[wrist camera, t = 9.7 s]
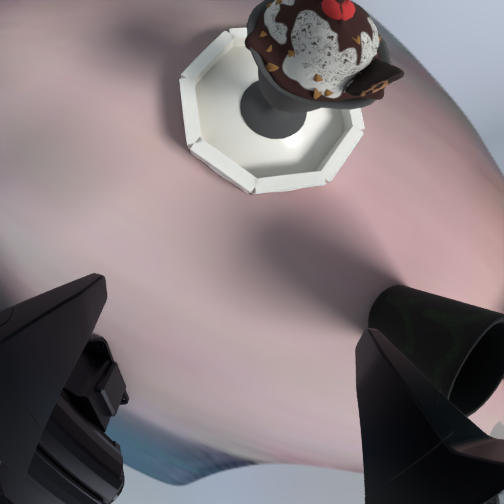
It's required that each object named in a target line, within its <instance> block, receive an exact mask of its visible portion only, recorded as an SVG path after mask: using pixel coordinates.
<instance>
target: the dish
mask: <svg viewBox="0 0 504 504" xmlns="http://www.w3.org/2000/svg"><path fill="white" fill-rule="evenodd" d="M246 37H247V28H232V29H229V32H227V31H224V32H223V33H222V34H221V35H219V36H218V37H217V38H216V39H215V40H214V41H213V42H212V43H211V44H210V45H209V46H208V47H207V48H206V49H205V50H204V51H203V52H202V53H201V54H200V55H199V56H198V57H197V58H196V59H195V60H194V61H193V62H192V63H191V64H190V65H189V66H188V67H187V68H186V69H185V70H184V71H183V73H182V74H181V79H179V82H180V91H181V100H182V110H183V120H184V125H185V133H186V140H187V146H188V149H189V150H190V151H191V154H192V155H193V156H195V157H196V158H198V159H199V160H201V161H202V162H203V163H205V164H206V165H207V166H208V167H209V168H211V169H212V170H213V171H214V172H216V173H217V174H218V175H219V176H221V177H223V178H224V179H226V180H227V181H229V182H231V183H233V184H234V185H236V186H237V187H238V188H240V189H241V190H242V191H244V192H245V193H246V194H248V193H252V195H255V194H262V193H269V192H286V191H291V190H296V189H300V188H307V187H316V186H323V185H326V183H330V182H331V180H332V179H333V177H334V176H335V175H336V173H337V172H338V170H339V169H340V167H341V166H342V165H343V163H344V162H345V160H346V159H347V157H348V156H349V154H350V153H351V151H352V150H353V149H354V147H355V146H356V144H357V143H358V141H359V140H360V138H361V137H362V135H363V134H364V133H363V132H362V131H361V130H363V129H365V127H364V122H363V118H362V113H361V108H357V109H352V110H348V109H331V108H319V109H317V110H313V111H310V112H307V116H306V120H305V122H304V125H303V126H302V127H301V129H300V130H299V131H298V132H297V133H296V134H294V135H292V136H290V137H287V138H284V139H269V138H266V137H263V136H261V135H258V134H257V133H255V132H254V131H253V130H252V129H251V128H249V127H248V126H247V124H246V122H245V121H244V119H243V117H242V115H241V109H240V102H241V98H242V95H243V93H244V91H245V90H246V89H247V88H248V87H249V86H250V85H251V84H252V83H254V82H256V81H258V80H259V79H258V67H257V65H256V63H255V61H254V58H253V56H252V54H251V51H249V50H248V49H247V48H246V47H245V39H246Z"/></svg>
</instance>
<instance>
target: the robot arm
mask: <svg viewBox="0 0 504 504" xmlns="http://www.w3.org/2000/svg"><path fill="white" fill-rule="evenodd" d="M106 300H107V289H106V280H105V277H104V276H103V275H100V274H96V273H93V274H90V275H87V276H85V277H82V278H80V279H77V280H75V281H72V282H70V283H67V284H65V285H62V286H60V287H57V288H55V289H52V290H50V291H47V292H45V293H43V294H40V295H38V296H35V297H33V298H30V299H28V300H26V301H23V302H21V303H19V304H16V305H15V306H11V307H9V308H7V309H4V310H2V311H0V504H111V503H112V502H113V501H114V500H115V499H116V498H117V497H118V496H119V494H120V493H121V491H122V489H123V486H124V472H123V457H122V455H121V450H120V445H119V444H117V443H116V442H115V441H112V440H111V439H110V438H109V437H108V436H107V435H106V434H105V433H104V432H105V431H106V428H107V425H108V423H109V420H110V417H111V416H115V415H116V413H117V410H118V407H119V405H124V404H127V403H128V401H129V397H128V394H127V392H126V390H125V389H126V385H125V383H124V380H123V378H122V375H121V373H120V370H119V367H118V365H117V363H116V362H115V361H114V360H113V357H112V354H111V351H110V349H109V346H108V343H107V341H106V340H104V339H92V340H89V338H90V336H91V334H92V332H93V330H94V328H95V325H96V323H97V321H98V318H99V316H100V314H101V312H102V309H103V307H104V305H105V303H106ZM100 343H101V344H103V345H104V347H102V346H101V345H100ZM355 356H356V390H357V399H358V408H359V417H360V427H361V438H362V451H363V465H364V484H365V504H504V440H502V439H496V438H493V437H490V436H489V435H487V434H486V433H484V432H483V431H482V430H481V429H480V428H479V427H478V426H476V425H475V424H474V423H473V422H472V421H471V420H470V419H469V418H467V417H466V416H465V415H464V414H463V413H462V412H461V411H460V410H458V409H457V408H456V407H455V406H454V405H453V404H452V403H451V402H450V401H449V400H448V399H447V398H446V397H445V396H444V395H443V394H442V393H441V392H440V391H438V389H437V388H436V387H435V386H434V385H433V384H432V383H431V382H430V381H429V380H428V379H427V378H426V377H425V376H424V375H423V374H422V373H421V372H420V371H419V370H418V369H417V368H416V367H415V366H414V365H413V364H412V363H411V362H410V361H409V360H408V359H407V358H406V357H405V356H404V355H403V354H402V353H401V352H400V351H399V350H398V349H397V348H396V347H395V346H394V345H393V344H392V343H391V342H390V341H389V340H388V339H387V338H386V337H385V336H384V335H383V334H382V333H381V332H380V331H379V330H377V329H372V328H367V329H365V330H364V332H363V334H362V336H361V338H360V340H359V342H358V343H357V346H356V350H355ZM122 398H124V399H125V400H123V399H122Z"/></svg>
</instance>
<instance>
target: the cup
mask: <svg viewBox="0 0 504 504" xmlns="http://www.w3.org/2000/svg"><path fill="white" fill-rule="evenodd" d="M369 328H372V329H377V330H379V331H380V332H381V333H382V334H383V335H384V336H385V337H386V338H387V339H388V340H389V341H390V342H391V343H392V344H393V345H394V346H395V347H396V348H397V349H398V350H399V351H400V352H401V353H402V354H403V355H404V356H405V357H406V358H407V359H408V360H409V361H410V362H411V363H412V364H413V365H414V366H415V367H416V368H417V369H418V370H419V371H420V372H421V373H422V374H423V375H424V376H425V377H426V378H427V379H428V380H429V381H430V382H431V383H432V384H433V385H434V386H435V387H436V388H437V389H438V391H440V392H441V393H442V394H443V395H444V396H445V397H446V398H447V399H448V400H449V401H450V402H451V403H452V404H453V405H454V406H455V407H456V408H457V409H458V410H460V411H461V412H462V413H463V414H464V415H465V416H466V417H468V416H470V415H471V414H473V413H475V412H476V411H477V410H478V409H479V408H480V407H481V406H483V404H484V403H485V402H486V401H487V400H488V399H489V398H490V397H491V395H492V394H493V393H494V391H495V390H496V389H497V387H498V386H499V384H500V382H501V381H502V379H503V377H504V314H502V313H498V312H495V311H491V310H488V309H484V308H481V307H477V306H474V305H470V304H467V303H463V302H460V301H456V300H453V299H449V298H445V297H442V296H438V295H435V294H431V293H428V292H424V291H421V290H417V289H413V288H410V287H406V286H401V285H397V286H392V287H390V288H388V289H386V290H385V291H384V292H383V293H381V294H380V296H379V297H378V298H377V299H376V301H375V302H374V304H373V306H372V308H371V311H370V315H369Z"/></svg>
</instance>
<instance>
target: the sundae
mask: <svg viewBox="0 0 504 504" xmlns="http://www.w3.org/2000/svg"><path fill="white" fill-rule="evenodd" d="M245 47H246V48H247V49H248V50H249V51H251V54H252V56H253V58H254V61H255V63H256V65H257V67H258V79H259V80H258V81H256V82H254V83H252V84H251V85H250V86H249V87H248V88H247V89H246V90H245V91H244V93H243V95H242V98H241V102H240V109H241V115H242V117H243V119H244V121H245V122H246V124H247V126H248V127H249V128H251V129H252V130H253V131H254V132H255V133H257V134H258V135H261V136H263V137H266V138H269V139H284V138H287V137H290V136H292V135H294V134H296V133H297V132H298V131H299V130H300V129H301V127H302V126H303V125H304V122H305V120H306V116H307V112H310V111H313V110H317V109H319V108H331V109H348V110H352V109H357V108H362V107H365V106H368V105H370V104H372V103H373V102H374V101H375V100H379V99H382V98H383V97H384V89H385V87H386V86H387V85H389V84H390V83H392V82H393V81H396V80H398V79H400V78H402V77H403V76H404V71H403V70H401V69H399V68H398V67H395V66H393V65H391V61H390V55H389V51H388V48H387V46H386V43H385V41H384V40H383V38H382V37H381V35H380V34H379V33H378V32H377V28H376V26H375V24H374V23H373V21H372V19H371V18H370V16H369V15H368V13H367V12H366V11H365V10H364V9H363V8H362V7H360V6H359V5H357V4H356V3H354V2H352V1H350V0H264V1H263V2H261V3H260V4H259V5H257V6H256V7H255V8H254V9H253V11H252V13H251V14H250V16H249V19H248V23H247V37H246V39H245Z"/></svg>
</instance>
